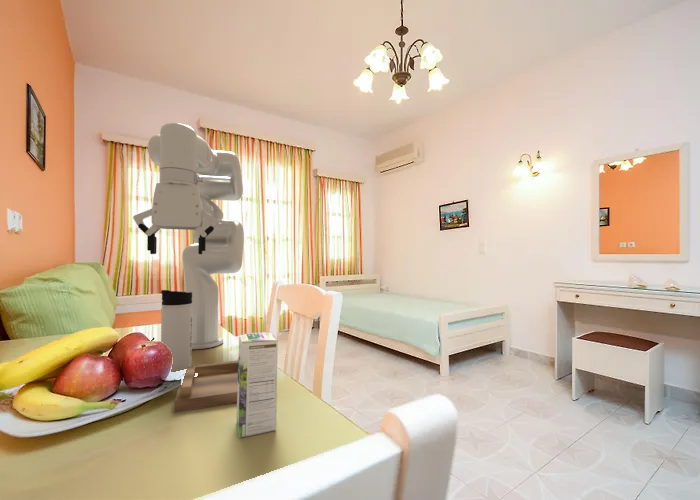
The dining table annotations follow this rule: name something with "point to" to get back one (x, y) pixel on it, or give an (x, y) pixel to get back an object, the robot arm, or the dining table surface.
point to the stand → (208, 386)
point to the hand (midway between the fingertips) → (177, 254)
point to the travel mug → (177, 327)
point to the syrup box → (257, 384)
